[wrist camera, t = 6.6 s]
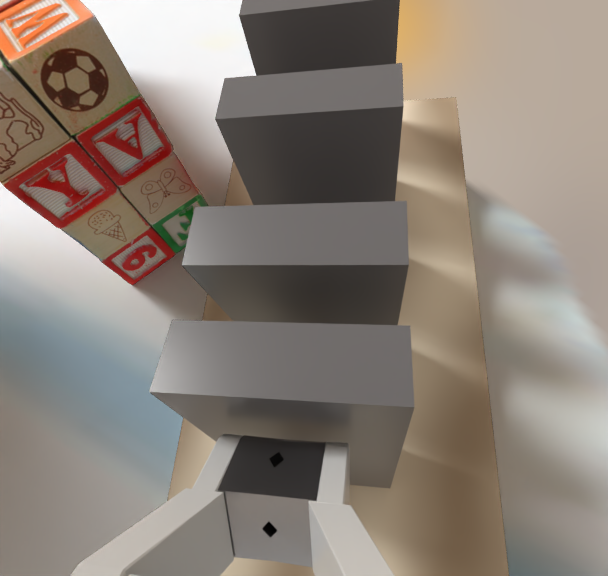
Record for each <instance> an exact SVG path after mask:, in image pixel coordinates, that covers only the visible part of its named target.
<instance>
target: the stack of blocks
mask: <svg viewBox="0 0 608 576" xmlns="http://www.w3.org/2000/svg"><path fill="white" fill-rule="evenodd" d="M0 182H1V183H2V185H3V186H4V187H5V188H6V189H8V190H9V191H10V192H12V193H13V194H14V195H15V196H17V197H18V198H19V199H20V200H21V201H23V202H24V203H25V204H26V205H28V206H29V207H30V208H32V209H33V210H34V211H36V212H37V213H38V214H40V215H41V216H42V217H44V218H45V219H47V220H48V221H49V222H51V223H52V224H53V225H54V226H56V227H57V228H60V229H61V230H62V231H64V232H65V233H66V234H67V235H69V236H70V237H72V238H73V239H74V240H76V241H77V242H79V243H80V244H81V245H82V246H84V247H85V248H86V249H87V250H89V251H90V252H91V253H92V254H94V255H95V256H96V257H98V258H99V260H100V261H101V262H102V263H103V264H105V265H106V266H107V267H109V268H110V269H111V270H113V271H114V272H115V273H117V274H118V275H119V276H121V277H122V278H123V279H124V280H125V281H127V282H128V283H129V284H131V285H133V284H135V283H136V282H138V281H139V280H141V279H142V278H143V277H145V276H146V275H148V274H149V273H151V272H152V271H153V270H155V269H156V268H158V267H159V266H160V265H162V264H163V263H165V262H166V261H167V260H169V259H170V258H172V257H173V256H174V255H175V254H176V253H178V252H179V251H180V250H182V249H183V248H185V247H186V244H187V240H188V235H189V231H190V227H191V222H192V218H193V213H194V209H195V207H208V204H207V203H206V201H205V199H204V197H203V196H202V194H201V192H200V191H199V190H198V189H197V187H196V186H195V185H194V184H193V182H192V181H191V179H190V177H189V176H188V174H187V172H186V170H185V169H184V167H183V165H182V164H181V162H180V161H179V159H178V157H177V156H176V154H175V153H174V152H173V146H172V144H171V142H170V141H169V139H168V137H167V136H166V134H165V132H164V131H163V129H162V127H161V126H160V124H159V123H158V121H157V119H156V117H155V115H154V114H153V112H152V111H151V109H150V108H149V106H148V105H147V103H146V101H145V100H144V98H143V96H142V95H141V94H140V93H139V91H138V89H137V87H136V85H135V84H134V82H133V80H132V79H131V77H130V75H129V73H128V72H127V70H126V68H125V66H124V64H123V63H122V61H121V59H120V57H119V56H118V54H117V52H116V51H115V49H114V47H113V45H112V44H111V42H110V40H109V39H108V37H107V35H106V33H105V32H104V30H103V28H102V26H101V25H100V23H99V22H98V20H97V18H96V17H95V15H94V14H93V13H92V12H91V11H90V10H89V9H88V8H87V7H86V6H85V5H84V4H83V3H82V2H81V1H80V0H0Z"/></svg>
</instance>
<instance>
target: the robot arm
mask: <svg viewBox="0 0 608 576" xmlns="http://www.w3.org/2000/svg"><path fill="white" fill-rule="evenodd" d="M234 557H237V558H247V559H257V560H267V561H276V562H282V563H288V564H294V565H300V566H306V567H312V568H313V572H314V574H315V576H394V574H393V572H392V571H391V569H390V568H389V566H388V564H387V563H386V561H385V559H384V558H383V556H382V555H381V553H380V551H379V550H378V548H377V546H376V545H375V543H374V541H373V540H372V538H371V537H370V535H369V533H368V532H367V530H366V528H365V527H364V525H363V523H362V522H361V520H360V519H359V517H358V515H357V514H356V512H355V510H354V509H353V507H352V506H351V505H350V448H349V444H348V443H339V442H318V441H303V440H289V439H285V440H284V439H277V438H267V437H257V436H247V435H244V436H242V435H233V434H222V435H221V436H220V437H219V438H218V440H217V442H216V444H215V446H214V448H213V449H212V451H211V453H210V455H209V457H208V459H207V461H206V463H205V465H204V467H203V469H202V471H201V473H200V475H199V476H198V478H197V480H196V482H195V484H194V486H193V488H192V489H188V488H185V489H184V490H183V491H181V492H180V493H178V494H177V495H176V496H174V497H173V498H171V499H170V500H168V501H167V502H166V503H164V504H163V505H161V506H160V507H158V508H157V509H156V510H154V511H153V512H151V513H150V514H148V515H147V516H146V517H144V518H143V519H141V520H140V521H139V522H137V523H136V524H134V525H133V526H131V527H130V528H129V529H127V530H126V531H124V532H123V533H121V534H120V535H119V536H117V537H116V538H114V539H113V540H112V541H110V542H109V543H107V544H106V545H104V546H103V547H102V548H100V549H99V550H97V551H96V552H94V553H93V554H92V555H90V556H89V557H87V558H86V559H84V560H83V561H82V562H80V563H79V564H78V565H77V566H76V568H75V569H74V571H73V572H72V574H71V575H70V576H220V575H221V574H222V573H223V572H224V571H225V570H226V568H227V567H228V566H229V565H230V564H231V563H232V562H233V561H234Z"/></svg>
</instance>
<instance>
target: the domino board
mask: <svg viewBox="0 0 608 576" xmlns="http://www.w3.org/2000/svg"><path fill="white" fill-rule="evenodd" d="M403 105H404V107H403V118H402V129H401V140H400V151H399V162H398V173H397V184H396V195H395V201H407V223H408V252H409V267H408V272H407V278H406V283H405V289H404V294H403V299H402V305H401V310H400V315H399V321H398V325H406V326H410V330H411V349H412V369H413V388H414V411H413V414H412V417H411V421H410V424H409V427H408V431H407V434H406V437H405V441H404V444H403V447H402V451H401V454H400V457H399V461H398V464H397V467H396V471H395V474H394V477H393V481H392V484H391V487H390V488H380V487H369V486H358V485H350V505H351V506H352V507H353V509H354V510H355V512H356V514H357V515H358V517H359V519H360V520H361V522H362V523H363V525H364V527H365V528H366V530H367V532H368V533H369V535H370V537H371V538H372V540H373V541H374V543H375V545H376V546H377V548H378V550H379V551H380V553H381V555H382V556H383V558H384V559H385V561H386V563H387V564H388V566H389V568H390V569H391V571H392V572H393V574H394V576H509V571H508V561H507V552H506V543H505V534H504V525H503V516H502V507H501V498H500V489H499V480H498V471H497V462H496V453H495V444H494V435H493V426H492V417H491V408H490V399H489V389H488V380H487V371H486V362H485V353H484V344H483V335H482V326H481V317H480V308H479V299H478V290H477V281H476V272H475V263H474V254H473V245H472V236H471V227H470V217H469V208H468V199H467V190H466V181H465V173H464V163H463V154H462V146H461V136H460V127H459V118H458V109H457V100H456V97H451V98H437V99H423V100H409V101H403ZM243 205H253V203H252V201H251V199H250V196H249V194H248V192H247V190H246V187H245V185H244V183H243V181H242V178H241V176H240V174H239V172H238V169H237V167H236V165H235V162H234V160H233V165H232V170H231V175H230V180H229V185H228V190H227V195H226V201H225V206H243ZM202 321H233V320H232V319H231V318H230V317H229V316H228V315H227V314H226V313H225V312H224V311H223V309H222V308H221V307H220V306H219V305H218V304H217V303H216V302H215V301H214V300H213V299H212V298H211V296H210V295H209V294H208V293H207V299H206V304H205V309H204V314H203V319H202ZM215 444H216V441H214V440H213V439H212V438H210V437H209V436H208V435H206V434H205V433H204V432H202V431H201V430H200V429H198V428H197V427H196V426H194V425H193V424H191V423H190V422H189V421H187V420H186V419H185V418H183V422H182V427H181V433H180V438H179V443H178V448H177V453H176V458H175V463H174V469H173V474H172V479H171V484H170V489H169V494H168V499H167V501H168V500H170V499H171V498H173V497H174V496H176V495H177V494H178V493H180V492H181V491H183V490H184V489H185V488H188V489H192V488H193V486H194V484H195V482H196V480H197V478H198V476H199V475H200V473H201V471H202V469H203V467H204V465H205V463H206V461H207V459H208V457H209V455H210V453H211V451H212V449H213V448H214V446H215ZM220 576H315V574H314V572H313V568H312V567H306V566H300V565H294V564H288V563H282V562H276V561H267V560H257V559H247V558H237V557H234V561H233V562H232V563H231V564H230V565H229V566H228V567H227V568H226V570H225V571H224V572H223V573H222V574H221V575H220Z"/></svg>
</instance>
